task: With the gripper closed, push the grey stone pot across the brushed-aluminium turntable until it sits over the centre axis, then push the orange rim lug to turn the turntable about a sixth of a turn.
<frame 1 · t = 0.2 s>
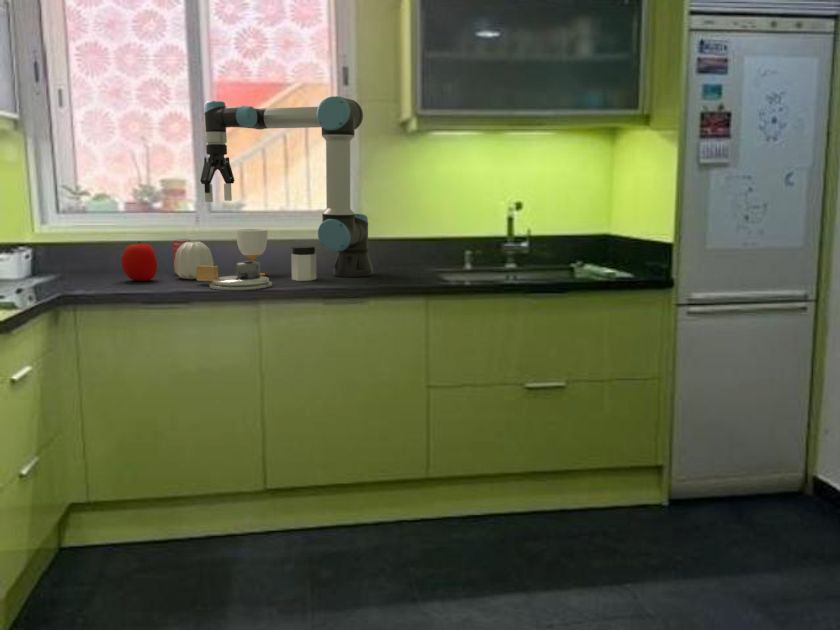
hand: (218, 201, 310), 28 cm above the counter, fingers open, 13 cm apart
cup: (253, 275, 313), on the counter
tomato: (140, 281, 295), on the counter
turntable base: (241, 286, 282), on the counter
grey stone pot: (248, 277, 287), point 2 cm above the counter, touching turntable
jar: (304, 280, 300), on the counter
vase: (194, 278, 304), on the counter
turntable: (231, 274, 283), point 4 cm above the counter, hinge at 0.0°, touching grey stone pot
soda can: (184, 274, 316), on the counter
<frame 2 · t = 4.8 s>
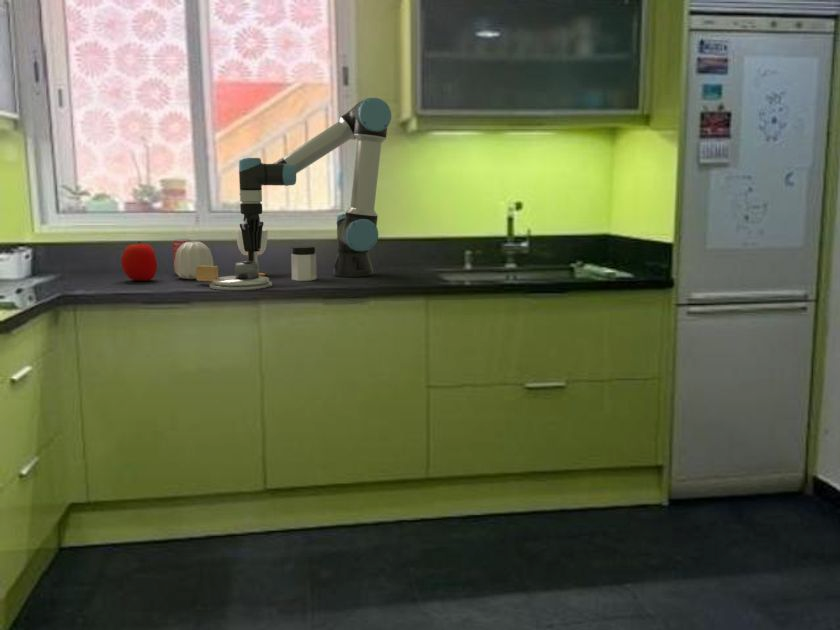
hand: (253, 269, 291), 5 cm above the counter, fingers closed
grey stone pot: (247, 277, 286), point 3 cm above the counter, touching gripper
turntable: (231, 274, 283), point 4 cm above the counter, hinge at 0.0°
everything else where it was.
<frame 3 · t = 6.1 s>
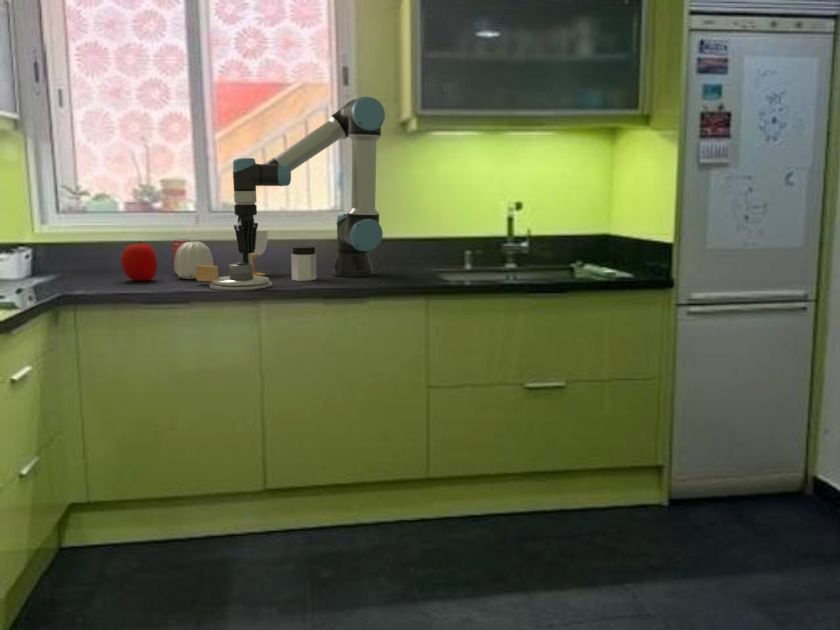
hand: (247, 271, 287), 4 cm above the counter, fingers closed
grey stone pot: (241, 278, 282), point 2 cm above the counter, touching gripper, turntable
turntable: (231, 274, 283), point 4 cm above the counter, hinge at 0.0°, touching grey stone pot
everything else where it was.
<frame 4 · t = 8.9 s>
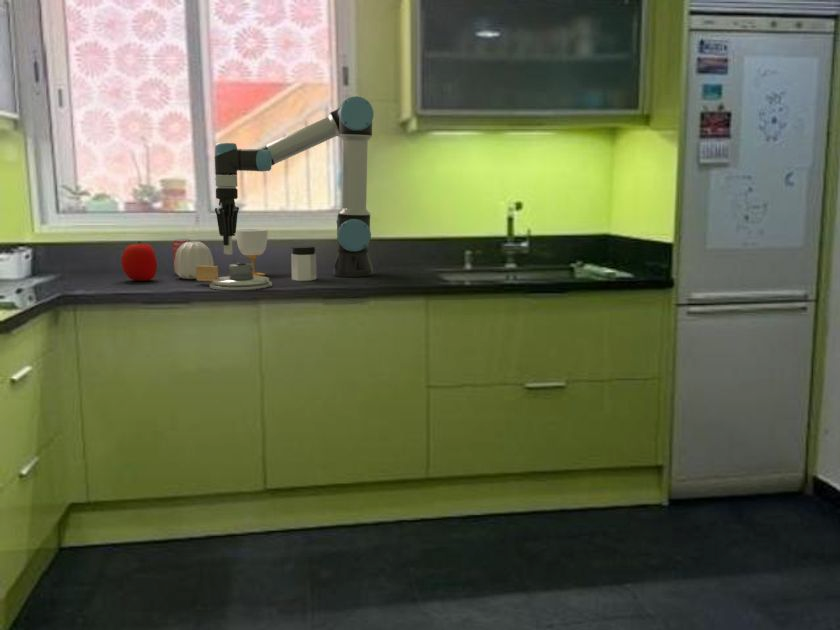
hand: (228, 254, 294), 10 cm above the counter, fingers closed
grey stone pot: (241, 278, 282), point 2 cm above the counter, touching turntable
everything else where it was.
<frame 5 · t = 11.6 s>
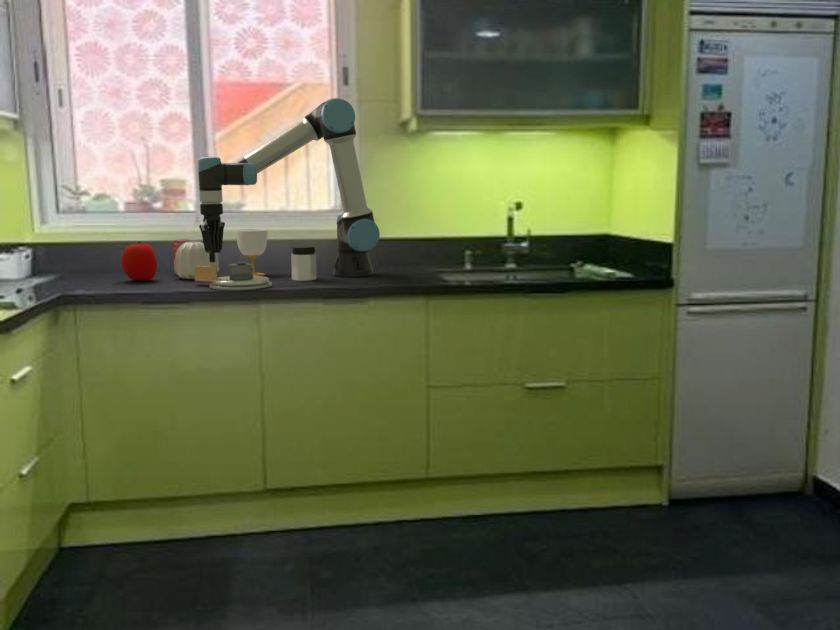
hand: (214, 271, 286), 5 cm above the counter, fingers closed
turntable: (231, 274, 283), point 4 cm above the counter, hinge at 4.3°, touching grey stone pot, gripper
everything else where it was.
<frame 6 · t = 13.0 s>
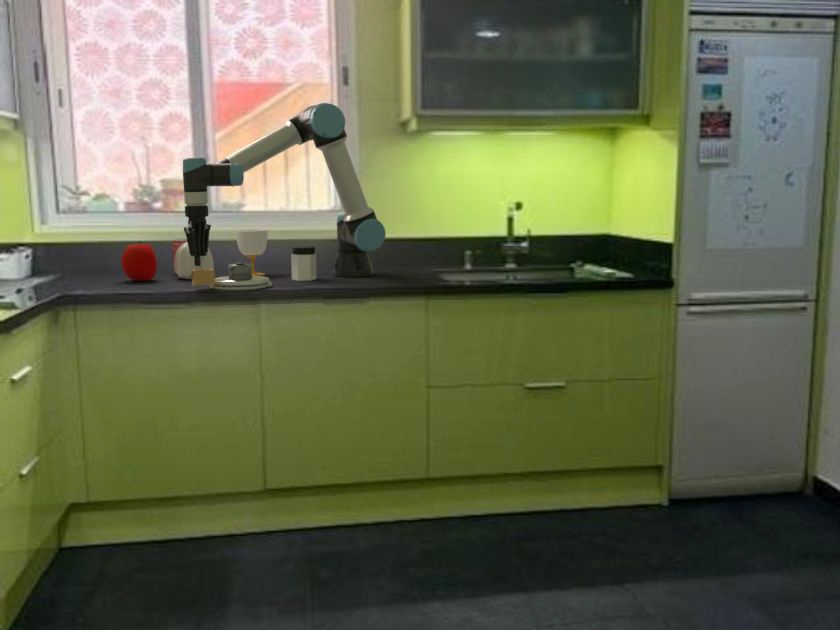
hand: (200, 275, 277), 4 cm above the counter, fingers closed
turntable: (230, 275, 280), point 4 cm above the counter, hinge at 49.6°, touching grey stone pot, gripper
everything else where it was.
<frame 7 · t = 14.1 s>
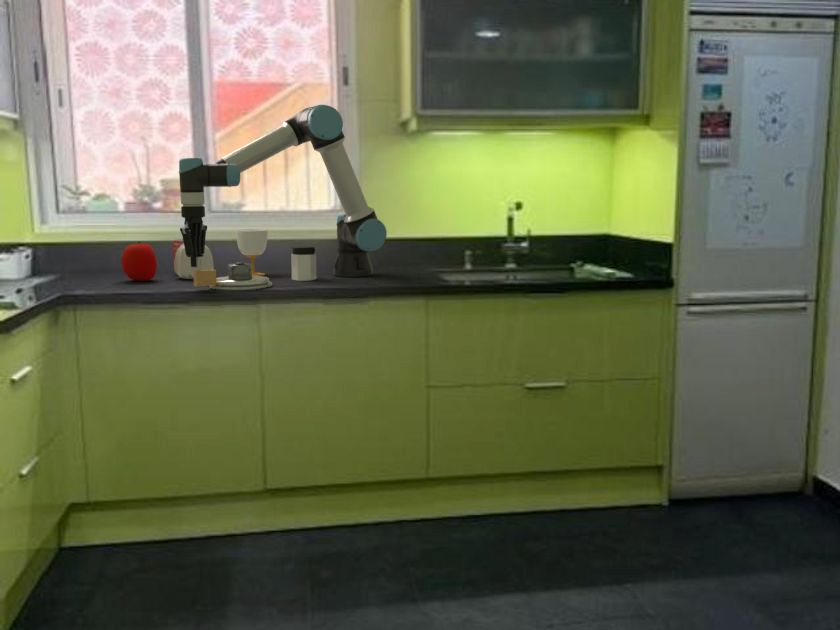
hand: (196, 276, 275), 4 cm above the counter, fingers closed
turntable: (231, 275, 280), point 4 cm above the counter, hinge at 56.0°, touching grey stone pot, gripper
everything else where it was.
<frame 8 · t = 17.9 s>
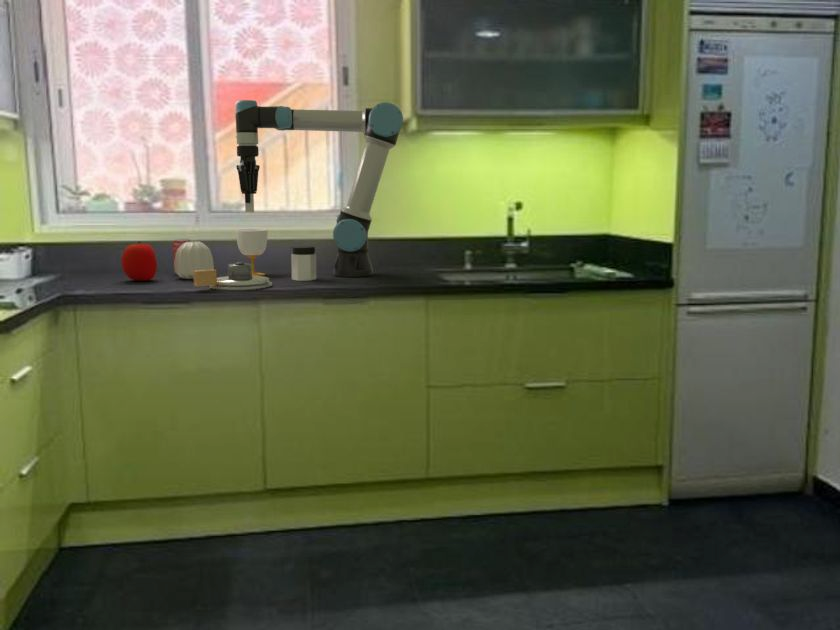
hand: (249, 212, 296), 24 cm above the counter, fingers closed
turntable: (231, 275, 280), point 4 cm above the counter, hinge at 56.5°, touching grey stone pot
everything else where it was.
at the end: grey stone pot 0.4 cm from the turntable (horizontally); grey stone pot tilted 0°; turntable at +56° (first picture: +0°) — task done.
